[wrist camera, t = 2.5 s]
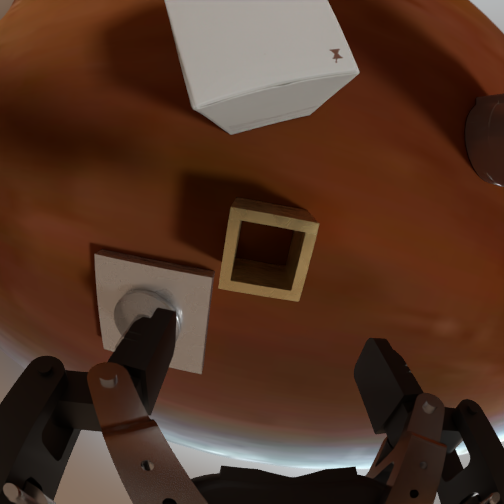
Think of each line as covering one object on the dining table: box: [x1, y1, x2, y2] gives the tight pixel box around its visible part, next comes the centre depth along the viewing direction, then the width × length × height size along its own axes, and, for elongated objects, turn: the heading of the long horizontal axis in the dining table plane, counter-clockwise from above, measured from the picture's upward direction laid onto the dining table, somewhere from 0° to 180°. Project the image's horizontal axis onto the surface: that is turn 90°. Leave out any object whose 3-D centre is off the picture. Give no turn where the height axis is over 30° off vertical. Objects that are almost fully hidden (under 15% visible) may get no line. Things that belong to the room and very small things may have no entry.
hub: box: [218, 197, 319, 302], centre depth 22 cm, size 6×6×5 cm
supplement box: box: [165, 0, 359, 134], centre depth 14 cm, size 7×7×13 cm
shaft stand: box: [95, 249, 215, 374], centre depth 24 cm, size 12×12×7 cm
